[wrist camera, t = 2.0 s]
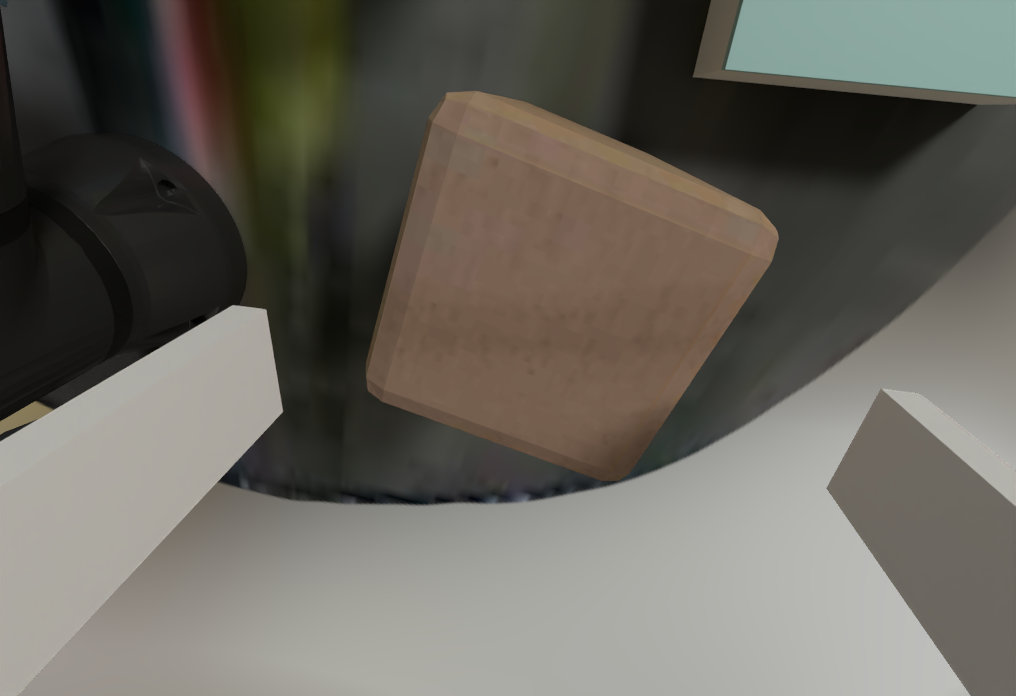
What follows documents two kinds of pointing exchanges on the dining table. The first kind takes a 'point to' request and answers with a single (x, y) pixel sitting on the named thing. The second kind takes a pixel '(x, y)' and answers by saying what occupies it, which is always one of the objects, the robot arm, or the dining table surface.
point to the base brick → (867, 47)
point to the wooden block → (556, 284)
